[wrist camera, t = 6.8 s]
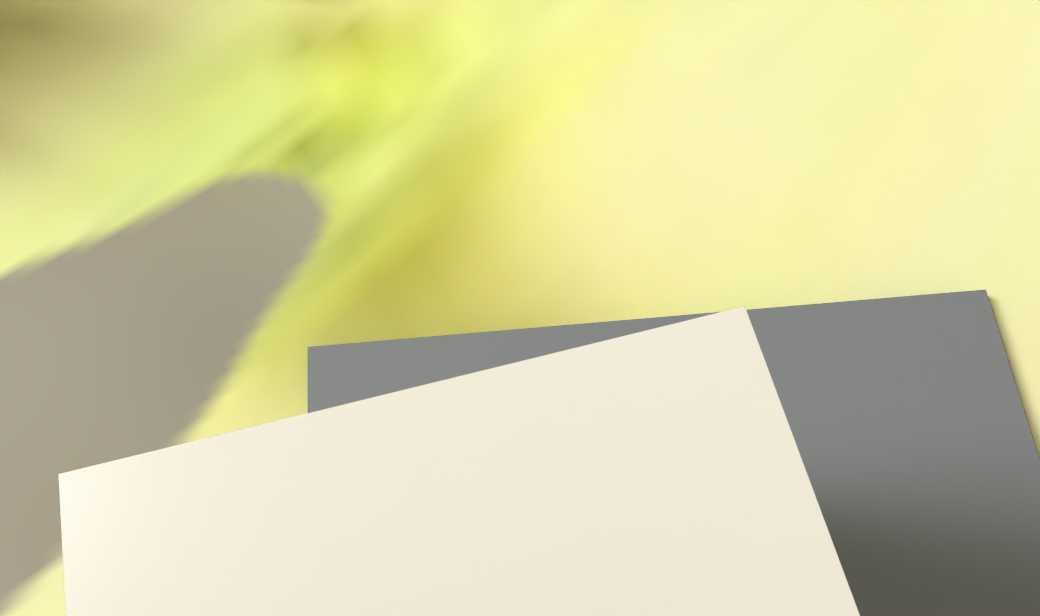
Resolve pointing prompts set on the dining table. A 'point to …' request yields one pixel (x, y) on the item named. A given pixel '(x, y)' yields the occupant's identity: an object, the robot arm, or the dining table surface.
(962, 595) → the rubber mat
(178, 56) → the dining table surface
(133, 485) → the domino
